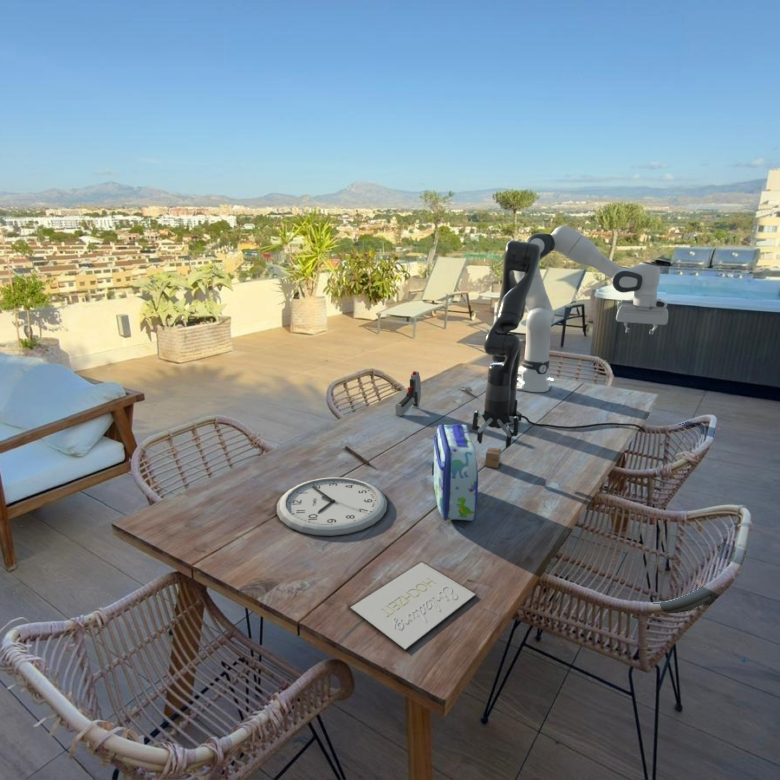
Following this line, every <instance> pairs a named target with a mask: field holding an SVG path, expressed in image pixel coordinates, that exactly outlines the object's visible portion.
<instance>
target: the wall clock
mask: <svg viewBox="0 0 780 780" xmlns="http://www.w3.org/2000/svg"><path fill="white" fill-rule="evenodd" d="M387 509H388V500H387V498H386V496H385V494H384V493H383V492H382V491H381V490H380V489H379V488H377V487H376V486H374V485H372V484H371V483H369V482H365V481H362V480H359V479H355V478H349V477H338V476H337V477H335V476H333V477H332V476H331V477H322V478H317V479H312V480H307V481H305V482H302V483H299V484H297V485H295V486H293V487H292V488H290V489H288V490H287V491H286V492H285V493H284V494H283V495H281V496H280V498H279V499H278V502H277V503H276V515H277V517H278V518H279V520H280V521H281V522H282V523H283V524H285V525H286V526H287V527H288V528H290V529H293V530H295V531H297V532H299V533H303V534H308V535H312V536H327V537H328V536H329V537H331V536H332V537H333V536H342V535H350V534H352V533H356V532H361V531H363V530H366V529H368V528H369V527H372V526H373V525H375V524H376V523H378V522H379V521H380V520H381V519H382V518H383V517H384V516H385V514H386V512H387Z"/></svg>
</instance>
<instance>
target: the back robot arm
mask: <svg viewBox="0 0 780 780" xmlns="http://www.w3.org/2000/svg"><path fill="white" fill-rule="evenodd" d="M525 242H528V243H534V244H538V245H539V246H540V249H541V250H540V259H539V263H540V261H542V260H543V259H544V258H546V257H547V256H549V254H551V252H553V251H555V252H558V253H560V254H562V255H563V256H565V257H566V258H567V259H569V260H571V261H572V262H574V263H577V264H578V265H582V266H583V265H585V266H588V267H591V268H593V269H595V270H597V271H598V272H600V273H601V274H603V275H604V276H606V277H607V278H608V279H610V281H611V282H612V286H613V288H614V289H615V291H617V292H619V293H625V294H626V293H631V292H633V299H632V300H625V299H621V300H620V301H618V302H617V305H616V309H617V312H616V316H615V320H616V321H617V322H618V323H623V325H624V328H625V334H626V333H629V334H630V330H631V328H630V327H628V324H630V323H632V324H645V325H653V328H652V329H649V332H648V334H649V335H654V332H655V331H656V329H657V328H658V327H659V325H661V326H666V325H667V324H668V321H669V311H668V308H667V307H668V302H667V301H665V300H663V299H661V298H658V287H659V285H660V278H661V268H660V267H659V265H658V264H656V263H653V262H648V261H641V262H640V263H638V264H636V265H634V266H631V267H626V266H621V265H618V264H617V263H615V262H614V261H613V260H611V259H610V258H608V257H607V256H606V255H604V254H603V253H602V252H601V251H600V250H599V249H598V247H597V246H596V245H595V243H594V242H592V241H591V240H590V239H589V238H588V237H586V235H584V234H582V233H581V232H579V231H577V230H576V229H574V228H572V227H570V226H567V225H559V226H558V227H556V228H554V230H553V231H552V232H551V233H545V232H536V233H534V234H531V235H530V236H529V237H528V238H527V239H526V241H525ZM539 263H538V267H537V270H536V273H535V275H534V278H533V281H532V284H531V287H530V289H529V292H528V294H527V297H526V305H525V310H526V311H527V315H526V320H525V349H524V358H522V359H520V361H521V365H519V368H518V378H517V389H516V391H524V392H529V393H545V392H548V391H549V390H550V388H552V385H551V383H550V381H552V382H553V381H554V378H551V377H550V370H549V368H550V353H551V352H550V351H551V333H552V329H551V328H552V325H553V323H554V322H555V312H554V309H553V306H552V303H551V301H550V299H549V296H548V293H547V290H546V287H545V283H544V279H543V277H542V273H541V270H540V265H539ZM524 274H525V272H520V271H514V276H515V279H516V281H517V283H518V282H519V281H520V280H521V279H522V278H523V276H524Z"/></svg>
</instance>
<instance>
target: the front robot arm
mask: <svg viewBox="0 0 780 780" xmlns="http://www.w3.org/2000/svg"><path fill="white" fill-rule="evenodd" d="M540 250H541V249H540V246H539V245H538V244H534V243H528V242H526V241H519V240H509V241H508V242H507V243H506V246H505V248H504V253H503V259H502V260H503V261H502V275H501V276H502V277H501V285H500V286H501V288H500V292H499V297H498V304H497V312H496V318H495V321H494V323H493V324H492V326H491V327H490V329H489V330H488V333H487V334H486V336H485V338H484V341H483V348H484V352H485V353H486V354H487V355H489V356H491V357H490V358H491V360H492V363H490V364H489V366H488V368H487V369H488V370H487V380H486V381H487V382H486V387H485V395H484V396H485V397H484V411H483V412H481V411H479V410H475V412H474V413H473V418H472V425H471V430H473V431H475V432H477V435H476V441H477V442H478V444H483V437H484V436H483V435H484V430H485V429H486V428H487V427H489V428H491V429H492V428H493V429H494V428H495V429H501V430H502V431H503V432H504V433H505V434H506V439H505V448H507V449H508V448H509V447H511V445H512V438H513V437H517V436H518V434H519V425H520V424H519V422H521V421H522V419H524V420H526V422H527V423H528V424H530V425H532V426H538V427H548V428H555V429H564V430H565V429H566V430H567V429H569V430H570V429H571V430H573V429H574V430H575V429H584V428H592V427H598V426H600V427H601V426H623V427H627V426H629V427H636V428H638V429H640V430H641V431H642V432H646V430H645V429H644V427H642V426H641V425H639V424H636V423H621V422H602V423H600V422H599V423H592V424H591V423H590V424H584V425H576V426H575V425H574V426H573V425H572V426H568V425H567V426H564V425H563V426H562V425H554V424H548V423H536V422H533V421H530V419H529V418H528V417H527V416H526V415H523V413H521V412H519V411H518V399H517V390H516V389H517V378H518V368H519V367H520V361H521V353H522V343H521V341H520V338H519V337H518V335H516V334H514V333H510V332H511V331H515V330H517V329H518V328H519V325H520V323H521V321H523V318H524V314H525V311H526V306H525V305H526V297H527V294H528V292H529V289H530V287H531V284H532V281H533V278H534V275H535V273H536V270H537V267H538V263H540V261H539V259H540ZM515 271H520V272H525V274H524V276H523V278H522V279H521V280H520V281H519V282H518V283H517V281H516V277H515ZM481 417H482V419H483V420H484V422H483V423H482V424H480V426H479V425H478V424H479V420H480V419H481ZM511 425H513V429H512V430H511V428H510V426H511Z"/></svg>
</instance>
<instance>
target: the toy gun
mask: <svg viewBox="0 0 780 780" xmlns="http://www.w3.org/2000/svg"><path fill="white" fill-rule="evenodd" d="M421 394H422V381H421V376H420V372H419V371H416V370H413V371H412V372H411V374H410V379H409V386H408V387H407V393H406V395H405V396H404V397H403V398H402V399H401V400H400V401H399V402H398V403H395V415H396V416H399V417H402V416H404V415H405V414H406V413H407V412H408V411H409V409H410V408H411V407H412V406H413V407H414V408H417V409H419V407H420V402H421V396H422V395H421Z"/></svg>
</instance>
